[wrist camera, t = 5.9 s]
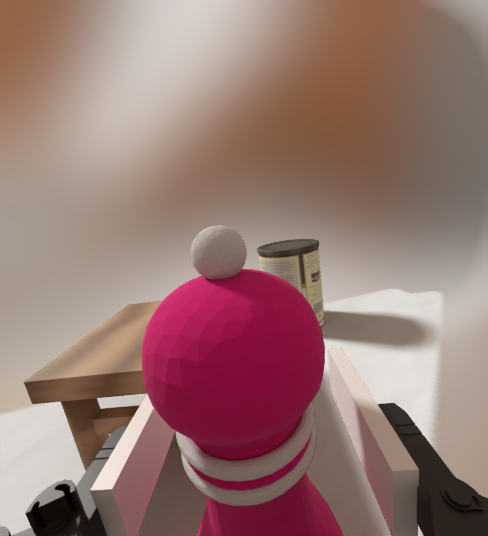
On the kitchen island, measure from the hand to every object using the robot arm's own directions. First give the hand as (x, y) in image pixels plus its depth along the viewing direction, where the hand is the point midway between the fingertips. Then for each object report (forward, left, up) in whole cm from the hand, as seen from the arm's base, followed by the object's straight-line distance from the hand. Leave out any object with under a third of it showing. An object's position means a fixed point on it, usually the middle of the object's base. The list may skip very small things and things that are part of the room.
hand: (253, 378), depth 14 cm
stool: (-10, +11, -11) cm, 19 cm away
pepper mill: (0, -5, -11) cm, 12 cm away
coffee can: (+6, +29, -11) cm, 32 cm away
